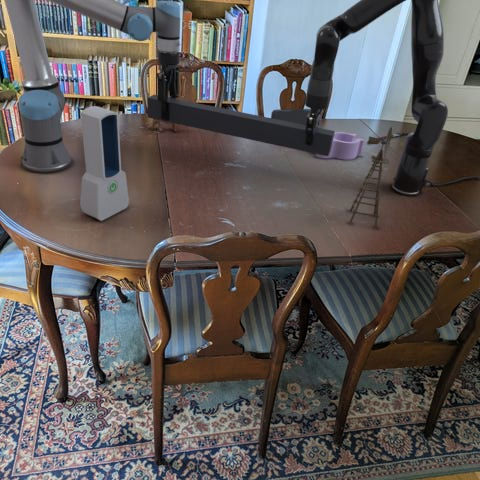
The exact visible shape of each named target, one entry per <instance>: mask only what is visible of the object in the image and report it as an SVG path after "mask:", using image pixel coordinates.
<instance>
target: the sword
mask: <svg viewBox="0 0 480 480" xmlns="http://www.w3.org/2000/svg"><path fill="white" fill-rule="evenodd" d="M401 133H402V132H396V133H392V136H391V138H393V137H401V136H403V135H404V134H401ZM409 134H410V133H406V134H405V135H409ZM376 138H377V139H379V140H380V141H382V140H386V138H387V135H384V136H381V137H376Z"/></svg>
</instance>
